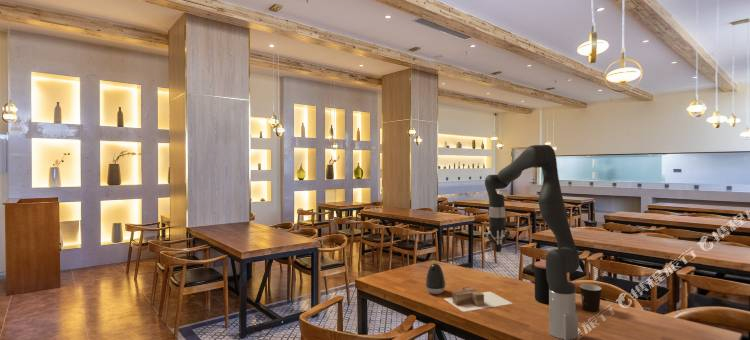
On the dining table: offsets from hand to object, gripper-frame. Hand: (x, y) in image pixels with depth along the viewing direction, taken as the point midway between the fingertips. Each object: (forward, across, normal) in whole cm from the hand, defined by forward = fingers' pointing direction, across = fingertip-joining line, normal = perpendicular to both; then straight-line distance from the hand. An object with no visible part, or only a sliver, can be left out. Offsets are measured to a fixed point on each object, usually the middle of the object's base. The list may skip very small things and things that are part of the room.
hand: (498, 251), depth 188 cm
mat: (+24, -10, +3) cm, 26 cm away
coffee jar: (+24, +20, -9) cm, 33 cm away
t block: (+23, -16, +4) cm, 29 cm away
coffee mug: (+24, +32, -23) cm, 47 cm away
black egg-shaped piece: (+24, -22, +22) cm, 39 cm away
